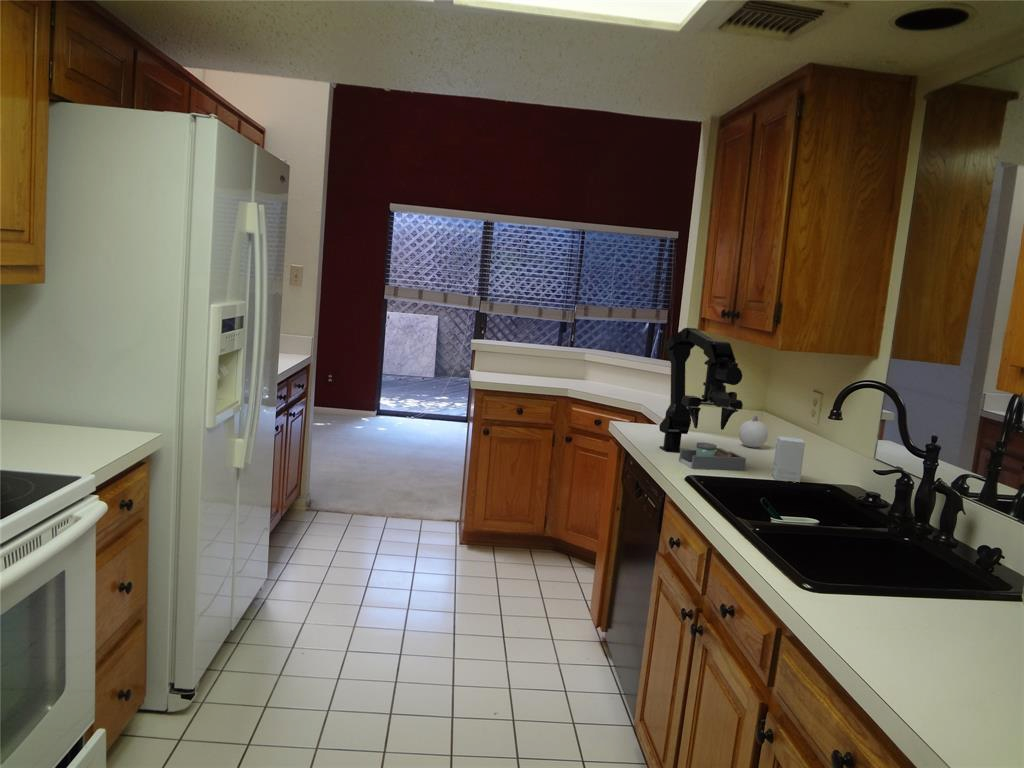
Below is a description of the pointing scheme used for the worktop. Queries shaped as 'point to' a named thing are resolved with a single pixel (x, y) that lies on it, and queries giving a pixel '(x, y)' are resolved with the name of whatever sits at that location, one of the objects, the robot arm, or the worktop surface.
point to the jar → (705, 449)
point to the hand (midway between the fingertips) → (708, 428)
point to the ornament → (753, 433)
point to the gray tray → (712, 461)
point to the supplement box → (788, 459)
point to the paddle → (722, 453)
